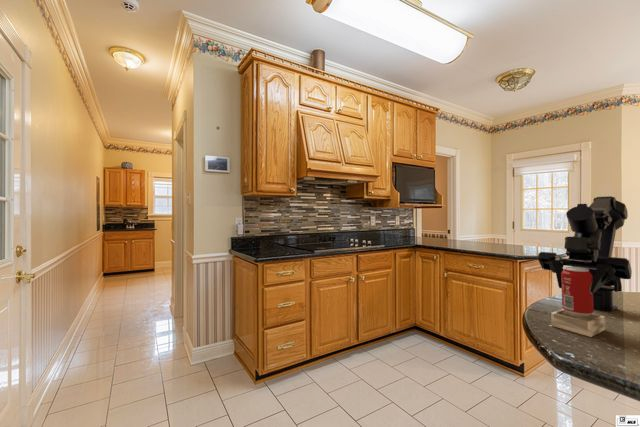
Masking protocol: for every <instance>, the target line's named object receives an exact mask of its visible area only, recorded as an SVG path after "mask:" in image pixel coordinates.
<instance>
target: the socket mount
mask: <svg viewBox="0 0 640 427" xmlns="http://www.w3.org/2000/svg"><path fill="white" fill-rule="evenodd" d="M550 322H551V323H550V326H551V327H555V328H558V329H561V330H565V331H568V332H573V333H576V334H579V335H583V336H587V337H589V338H592V337H594V336H596V335H598V334H600V333H602V332H603V331H606V316H605V315H604V316H603V315H600V314H595V313H592V314H590V315H589V316H576V315H572V314H569V313H567V312H566V311H565V310H564V309H563V308H561V309H559V310H556V311H552V312H550Z"/></svg>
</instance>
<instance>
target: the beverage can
mask: <svg viewBox="0 0 640 427" xmlns="http://www.w3.org/2000/svg"><path fill="white" fill-rule="evenodd" d="M563 269H564V270H563V271H562V273H561V283H562V288H561V309H564V310H565V311H566V312H567V313H569V314H572V315H576V316H589V315H590V314H594V308H593V293H591V285H592V282H593V276H592V274H591V273H590V272H589V269H586V268H580V267H572V266H565V267H563Z"/></svg>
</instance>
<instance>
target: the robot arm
mask: <svg viewBox="0 0 640 427" xmlns="http://www.w3.org/2000/svg"><path fill="white" fill-rule="evenodd" d="M592 201H593V202H591V204H590V205H589V206H588V203H577V206H574V207H572V208H570V209H568V211H566V214H565V215H566V217H567V218H566V219H567V220H568V223H569V226H570V229H571V232H573V233H574V235H573V236H566V237H565V239H564V249H565V250H566V251H565V254H566V256H567V257H568V258H567V257H561V256H559V255H557V253H556V252H548V251H540V252H539V253H538V255H537V260H538V262H539V265H540V266H541V268H542V270H545V271H551V272H552V274H553V273H554V274H555V276H556V280H557V281H556V282H557V285H558V289H562V283H561V273H562V271H563V270H564V266H565V267H580V268H586V269H589V272H590V273H591V274H592V276H593V282H592V285H591V293H593V308H594V309H595V310H600V311H604V312H610V313H611V312H613V311H616V310H618V309H619V306H616V305H614V293H617V292H619V293H620V292H623V287H622V280H630V279H632V267H631V263H630V260H629V259H628V258H627V257H626V258H625V257H617V256H616V257H614V256H612V255H613V249H614V244H615V238H616V234H617V233H616V232H617V231H618V230H619V229H620V228H622V227H624V225H625V220H627V219H628V209H627V206H626V203H624V202H621V201H619V200H617V199H616V197H615V196H613V195H610V196H609V195H608V196H596V197H594V198H593V200H592Z"/></svg>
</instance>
